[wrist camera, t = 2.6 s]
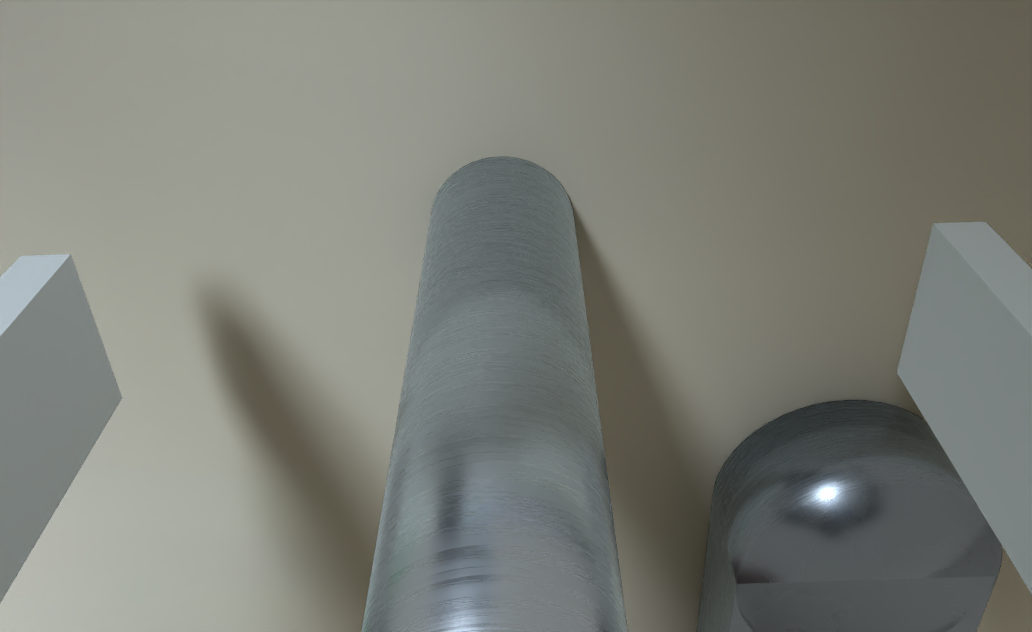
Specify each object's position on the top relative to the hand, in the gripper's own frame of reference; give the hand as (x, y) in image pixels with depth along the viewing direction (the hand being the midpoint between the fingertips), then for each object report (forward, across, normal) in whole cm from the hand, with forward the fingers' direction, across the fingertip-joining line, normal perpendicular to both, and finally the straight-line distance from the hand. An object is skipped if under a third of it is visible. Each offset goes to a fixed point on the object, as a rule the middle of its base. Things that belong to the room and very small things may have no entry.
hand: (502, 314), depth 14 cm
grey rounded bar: (+3, +7, -16) cm, 18 cm away
